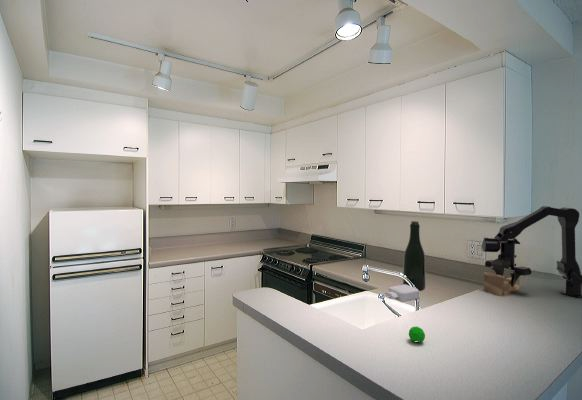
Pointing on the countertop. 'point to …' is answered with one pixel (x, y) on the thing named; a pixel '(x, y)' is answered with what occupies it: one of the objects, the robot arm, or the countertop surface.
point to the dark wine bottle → (415, 259)
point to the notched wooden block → (495, 284)
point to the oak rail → (508, 281)
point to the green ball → (416, 334)
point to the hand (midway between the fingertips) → (506, 285)
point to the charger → (402, 293)
